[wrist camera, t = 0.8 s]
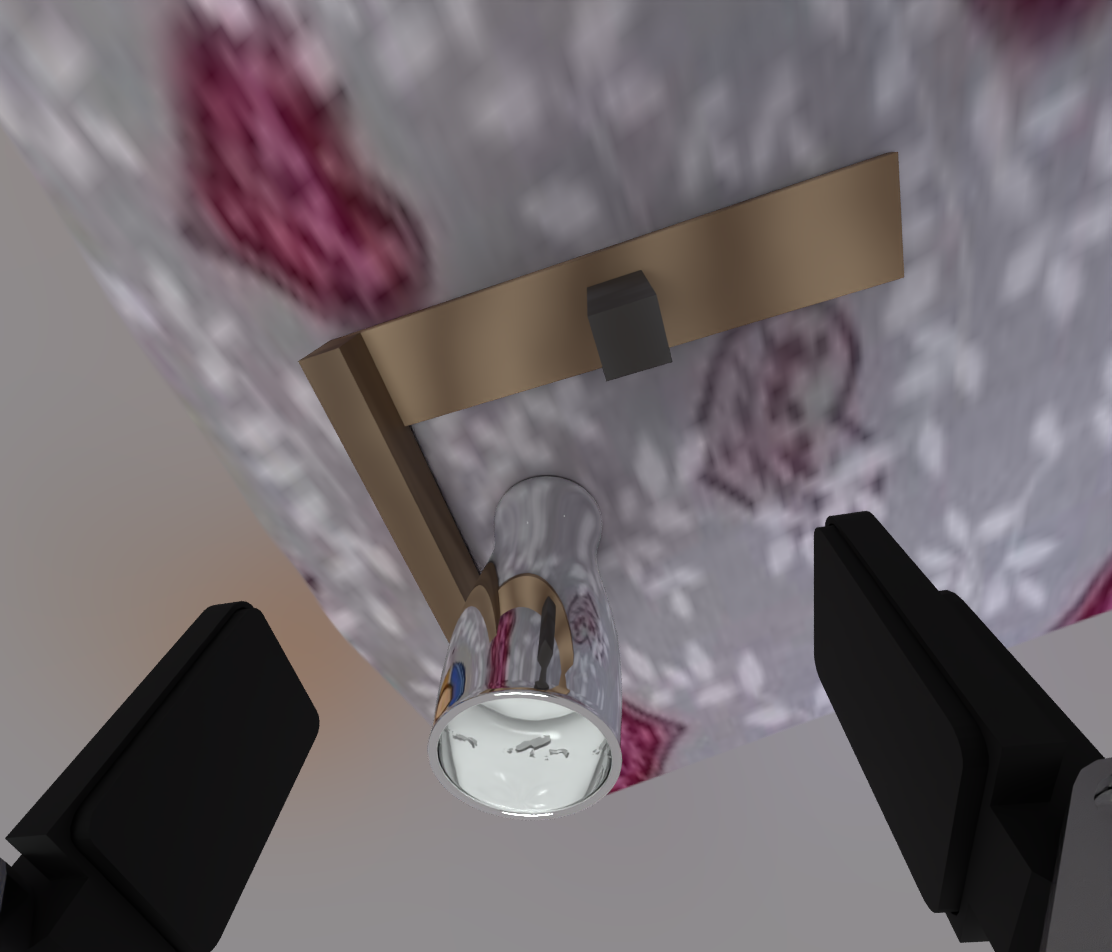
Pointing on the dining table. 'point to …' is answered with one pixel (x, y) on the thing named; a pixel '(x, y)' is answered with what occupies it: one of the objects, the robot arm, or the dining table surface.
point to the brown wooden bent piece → (589, 335)
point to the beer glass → (533, 666)
